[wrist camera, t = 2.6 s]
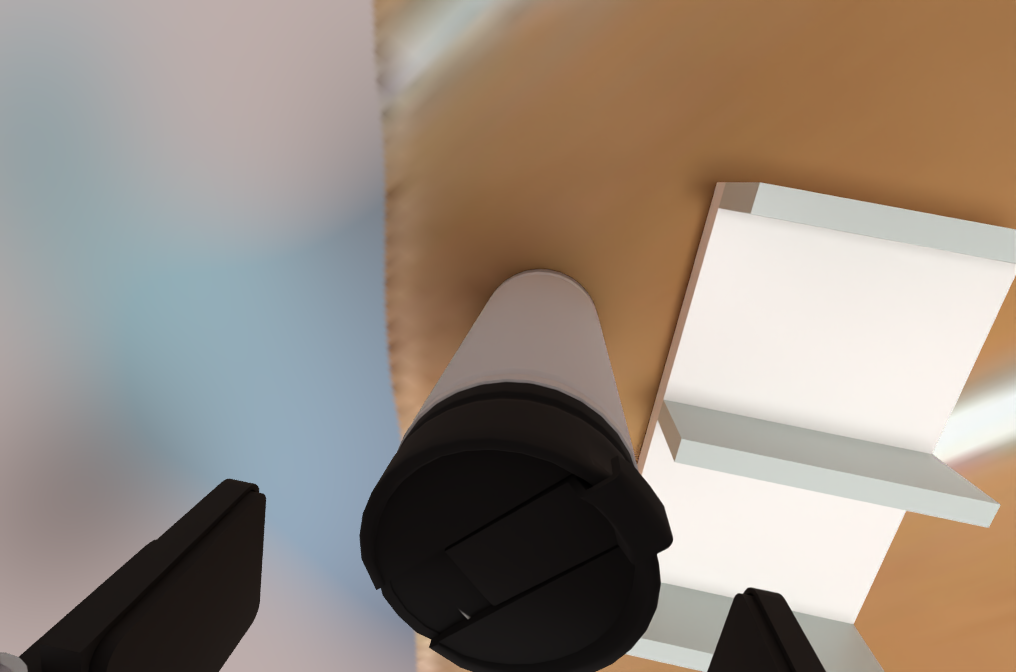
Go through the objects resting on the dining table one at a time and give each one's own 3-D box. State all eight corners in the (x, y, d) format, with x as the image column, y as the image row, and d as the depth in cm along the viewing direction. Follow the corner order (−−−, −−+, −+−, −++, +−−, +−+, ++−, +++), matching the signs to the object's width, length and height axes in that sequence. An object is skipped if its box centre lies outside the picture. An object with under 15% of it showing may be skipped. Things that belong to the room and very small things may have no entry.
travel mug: (626, 333, 29) (751, 630, 10) (528, 398, 31) (472, 762, 11) (558, 240, 28) (549, 368, 9) (461, 312, 30) (274, 553, 10)
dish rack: (717, 182, 26) (760, 182, 21) (1006, 235, 26) (1133, 251, 20) (607, 570, 33) (616, 651, 27) (833, 620, 33) (891, 713, 27)
